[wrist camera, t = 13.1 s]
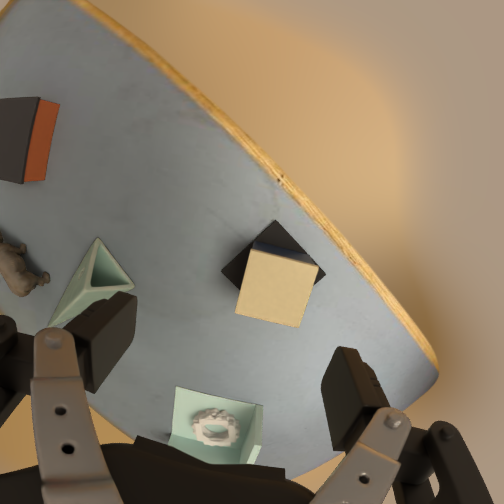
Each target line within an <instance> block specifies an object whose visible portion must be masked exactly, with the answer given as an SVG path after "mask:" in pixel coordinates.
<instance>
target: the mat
mask: <svg viewBox="0 0 504 504" xmlns="http://www.w3.org/2000/svg"><path fill="white" fill-rule="evenodd" d="M254 241H258V242H262V243H266V244H270V245H274V246H277V247H281V248H285V249H289V250H293V251H297V252H301V253H304V254H307V253H306V252H305V250H304V249H303V248H302V247H301V246H300V245H299V244H298V243H297V242H296V241H295V240H294V239H293V238H292V236H291V235H290V234H289V233H288V232H287V231H286V230H285V229H284V228H283V227H282V226H281V225H280V224H279V223H278V222H277V221H276V220H275V221H274V222H273V223H272V224H271V225H270V226H269V227H268V228H266V229H265V230H264V231H263V232H262V233H261V234H260V235H259V236H258V237H257V238H256V239H255V240H254ZM254 241H253V242H251V243H250V244H249V245H248V246H247V247H246V248H245V249H244V250H243V251H242V252H241V253H240V254H239V255H238V256H236V257H235V258H234V259H233V260H232V261H231V262H230V263H229V264H228V265H227V266H226V267H225V268H224V269H223V270H222V271H221V272H222V273H223V274H224V275H225V276H226V277H227V278H228V279H229V280H230V281H231V282H232V283H233V284H234V285H235V286H236V287H237V288H238V289H239V290H240V289H241V285H242V281H243V278H244V274H245V270H246V266H247V262H248V258H249V254H250V250H251V249H252V247H253V243H254ZM311 259H312V258H311ZM312 261H313V263H314V264H315V265H317V264H316V262H315V261H314V260H313V259H312ZM318 267H319V266H318ZM325 275H326V274H325V272H324V271H323V270H322V269H321V268H320V267H319V269H318V272H317V275H316V278H315V282H314V285H315V284H316V283H317V282H318V281H319V280H321V279H322V278H323V277H324V276H325ZM314 285H313V286H314Z"/></svg>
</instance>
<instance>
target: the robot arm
mask: <svg viewBox="0 0 504 504" xmlns="http://www.w3.org/2000/svg"><path fill="white" fill-rule="evenodd" d="M136 313H137V297H136V296H134V295H131V294H128V293H125V292H122V291H118V292H116V293H115V294H114V295H113V296H112V297H111V298H109V299H108V300H107V299H105V298H104V299H101V300H98V301H95V302H93V303H92V304H91V305H89V306H88V307H87V308H86V309H85V310H83V311H82V312H81V314H79V315H77V316H76V317H75V318H74V319H73V320H71V321H70V322H69V323H68V324H67V325H66V326H64V327H63V328H57V327H49V328H45V329H42V330H40V331H39V332H37V333H36V335H35V336H32V335H27V334H23V333H19V332H17V327H16V323H15V321H14V320H13V319H12V318H11V317H9V316H6V315H0V428H1V426H2V425H3V424H4V422H5V421H6V420H7V418H8V417H9V416H10V414H11V413H12V412H13V411H14V409H15V408H16V407H17V405H18V404H19V403H20V402H21V401H22V399H23V398H24V397H25V396H26V395H30V396H31V407H32V420H33V430H34V438H35V446H36V451H37V459H38V464H39V465H36V466H32V467H28V468H25V469H21V470H17V471H13V472H9V473H5V474H0V504H382V503H383V501H384V499H385V497H386V495H387V493H388V491H389V489H390V487H391V485H392V487H393V491H394V495H395V500H396V503H397V504H494V503H493V501H492V498H491V496H490V494H489V491H488V490H487V487H486V485H485V483H484V480H483V478H482V476H481V474H480V472H479V470H478V468H477V466H476V464H475V462H474V460H473V458H472V456H471V454H470V452H469V450H468V448H467V446H466V444H465V442H464V440H463V438H462V436H461V434H460V433H459V431H458V430H457V428H455V427H454V426H453V425H452V424H450V423H448V422H445V421H436V422H434V423H433V424H432V425H431V427H430V428H429V429H428V430H423V429H419V428H415V427H412V426H411V422H410V419H409V418H408V417H407V416H406V415H405V414H404V413H403V412H402V411H400V410H398V409H395V408H392V407H390V405H389V402H388V400H387V398H386V396H385V394H384V392H383V389H382V387H380V386H381V385H380V383H379V381H378V380H377V377H376V375H375V373H374V370H373V369H372V368H371V367H370V366H369V365H368V364H367V363H365V362H363V361H362V359H361V357H360V355H359V353H358V351H357V349H353V348H347V347H341V346H339V347H337V348H336V350H335V352H334V354H333V356H332V359H331V361H330V363H329V365H328V367H327V370H326V372H325V374H324V376H323V379H322V383H321V393H322V397H323V402H324V407H325V412H326V417H327V421H328V426H329V431H330V436H331V441H332V446H333V451H345V453H346V456H345V457H344V458H343V460H342V461H341V462H340V463H339V465H338V466H337V467H336V469H335V470H334V471H333V473H332V474H331V475H330V476H329V478H328V479H327V480H326V481H325V483H324V484H323V485H322V486H321V487H320V488H319V490H318V491H317V492H316V493H315V494H314V493H313V492H312V491H310V490H309V489H307V488H305V487H304V486H302V485H300V484H298V483H296V482H293V481H291V480H288V479H285V468H276V467H268V466H261V465H254V464H209V463H206V462H204V461H202V460H199V459H197V458H195V457H193V456H191V455H189V454H187V453H185V452H183V451H181V450H179V449H177V448H175V447H173V446H169V445H166V444H163V443H159V442H156V441H153V440H150V439H147V438H144V437H141V436H138V435H137V437H136V439H135V442H134V444H127V443H110V444H102V445H100V444H99V441H98V438H97V435H96V431H95V428H94V424H93V421H92V417H91V413H90V410H89V406H88V402H87V398H86V393H85V390H86V391H89V392H91V393H93V394H95V393H96V391H97V390H98V389H99V387H100V386H101V384H102V383H103V382H104V380H105V379H106V377H107V376H108V375H109V373H110V372H111V370H112V369H113V368H114V366H115V365H116V364H117V362H118V361H119V359H120V358H121V357H122V355H123V354H124V353H125V351H126V350H127V349H128V347H129V346H130V344H131V343H132V341H133V338H134V334H135V325H136ZM434 472H435V474H436V477H437V479H438V482H439V492H438V495H437V496H436V497H435V496H434V493H433V491H432V487H431V484H430V481H429V477H430V476H431V475H432V474H433V473H434Z"/></svg>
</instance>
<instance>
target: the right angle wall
mask: <svg viewBox="0 0 504 504" xmlns="http://www.w3.org/2000/svg"><path fill="white" fill-rule="evenodd" d="M262 420H263V406H261V405H255V404H250V403H244V402H239V401H234V400H230V399H225V398H221V397H216V396H212V395H208V394H204V393H199V392H196V391H192V390H188V389H184V388H180V387H177V386H176V394H175V403H174V413H173V423H172V434H171V437H170V439H169V442H168V445H169V446H173V447H175V448H177V449H179V450H181V451H183V452H185V453H187V454H189V455H191V456H193V457H195V458H197V459H199V460H202V461H204V462H206V463H209V464H254V462H255V460H256V458H257V455H258V453H259V451H260V448H261V446H262Z"/></svg>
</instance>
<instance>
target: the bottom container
mask: <svg viewBox="0 0 504 504" xmlns="http://www.w3.org/2000/svg"><path fill="white" fill-rule="evenodd" d="M59 107H60V104H56V103H52V102H49V101H45V100H41V99H40V97H20V98H5V99H0V180H5V181H9V182H14V183H18V184H24V182H27V181H38V180H45V174H46V168H47V162H48V156H49V151H50V145H51V140H52V136H53V131H54V127H55V122H56V118H57V114H58V110H59Z"/></svg>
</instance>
